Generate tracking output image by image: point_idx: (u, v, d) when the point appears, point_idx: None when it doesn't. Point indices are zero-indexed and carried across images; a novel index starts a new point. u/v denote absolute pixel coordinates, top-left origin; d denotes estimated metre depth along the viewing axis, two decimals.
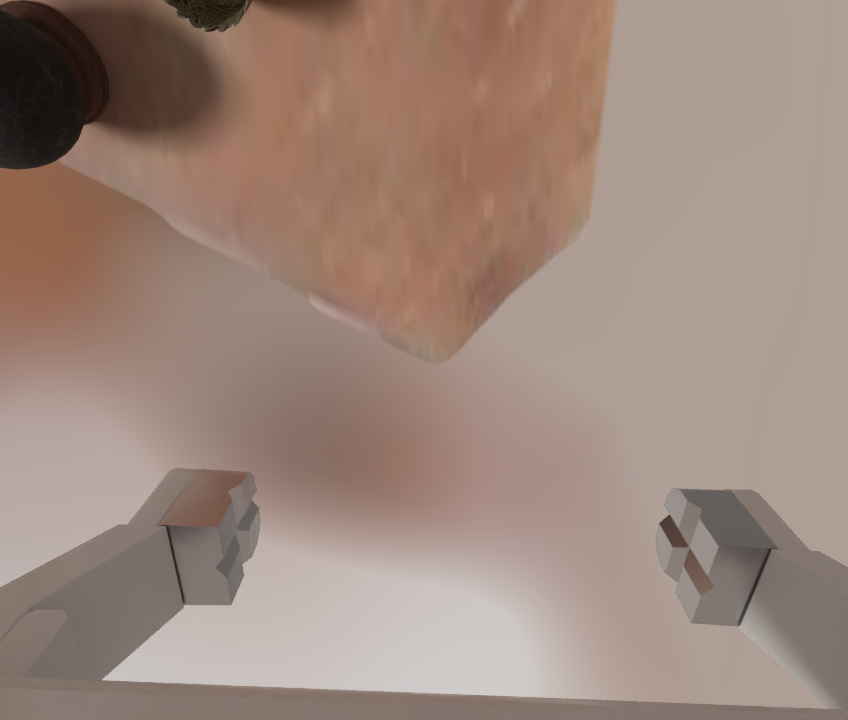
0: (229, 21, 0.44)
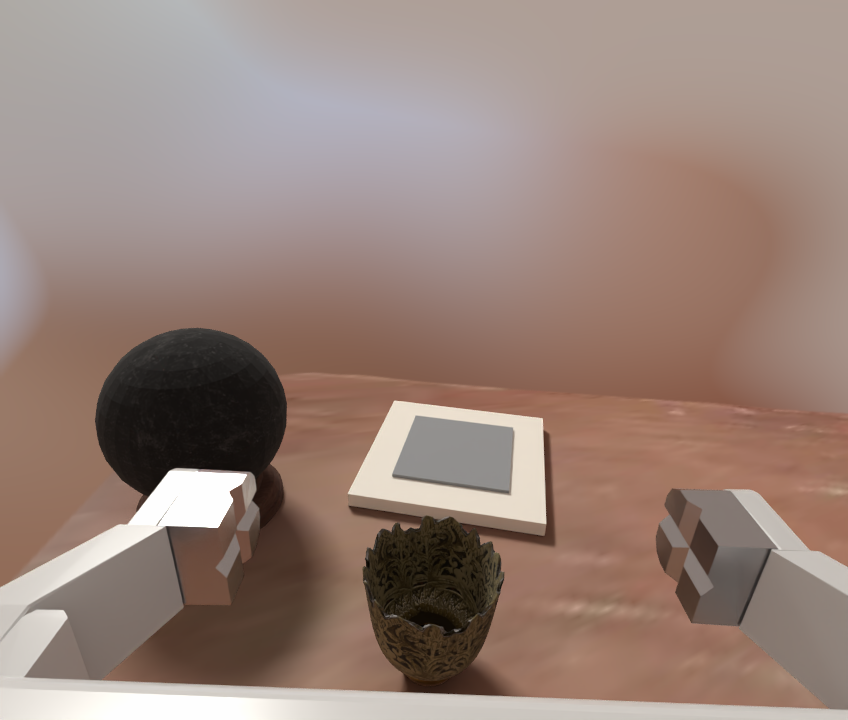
0: None
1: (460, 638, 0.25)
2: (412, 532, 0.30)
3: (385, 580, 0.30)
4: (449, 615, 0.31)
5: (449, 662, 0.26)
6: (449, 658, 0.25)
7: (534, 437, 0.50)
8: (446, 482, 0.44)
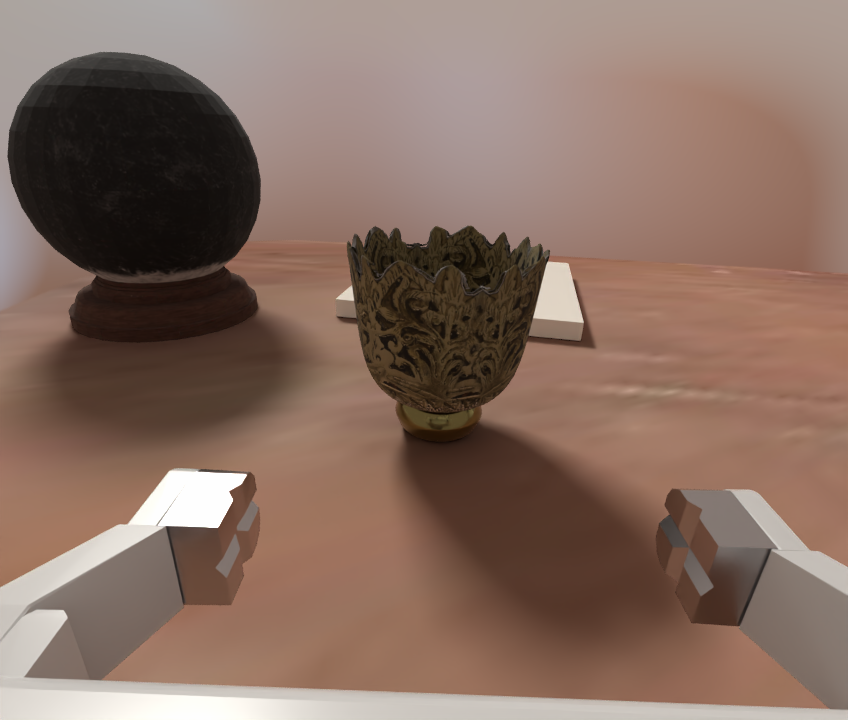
0: None
1: (489, 307, 0.17)
2: (417, 248, 0.22)
3: None
4: None
5: (471, 357, 0.17)
6: (471, 349, 0.17)
7: (560, 273, 0.42)
8: None
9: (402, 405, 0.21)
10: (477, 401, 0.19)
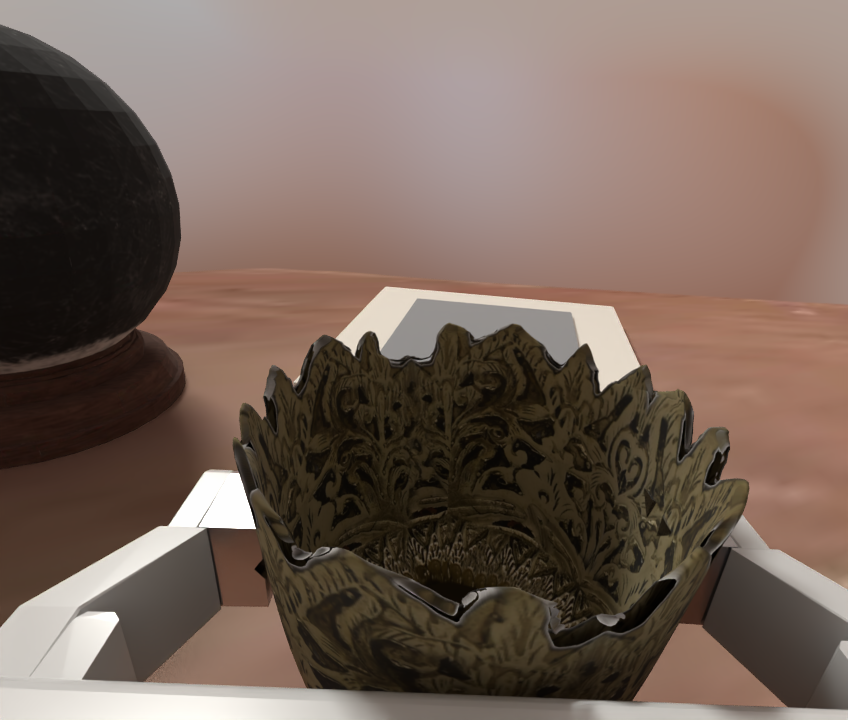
0: None
1: (615, 656, 0.06)
2: (411, 366, 0.11)
3: (336, 490, 0.11)
4: None
5: None
6: None
7: (607, 325, 0.32)
8: None
9: None
10: None
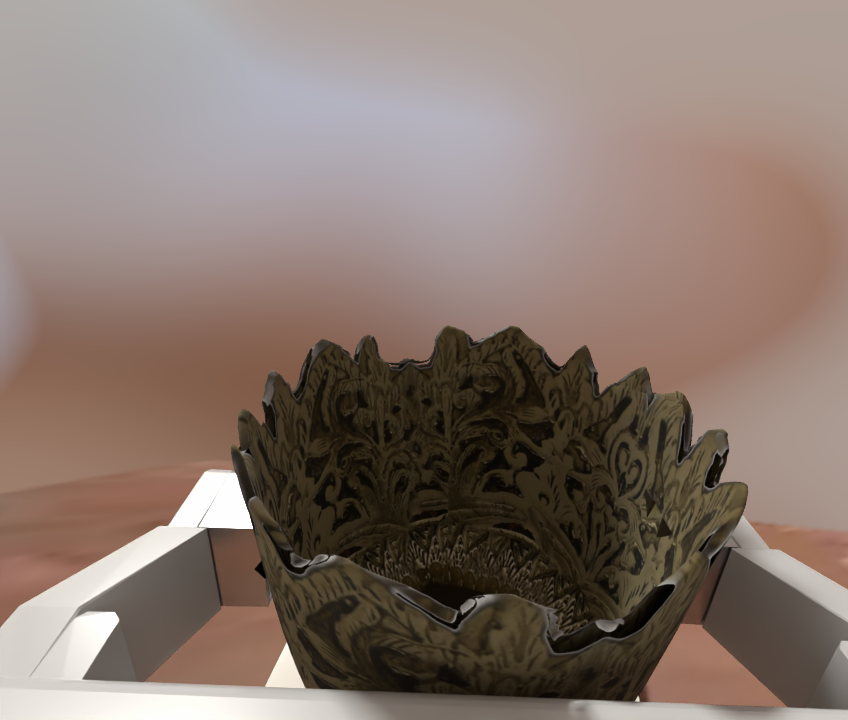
0: None
1: (615, 661, 0.06)
2: (410, 369, 0.11)
3: (336, 494, 0.11)
4: (506, 593, 0.12)
5: None
6: None
7: None
8: None
9: None
10: None
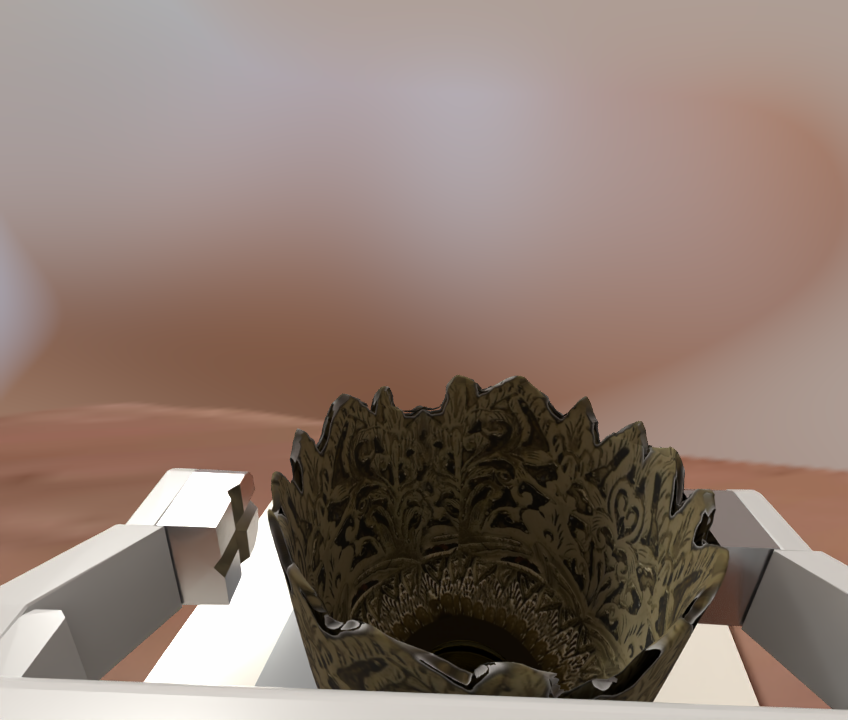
0: None
1: None
2: (423, 416, 0.12)
3: (355, 533, 0.12)
4: (513, 623, 0.13)
5: None
6: None
7: (711, 661, 0.15)
8: None
9: None
10: None
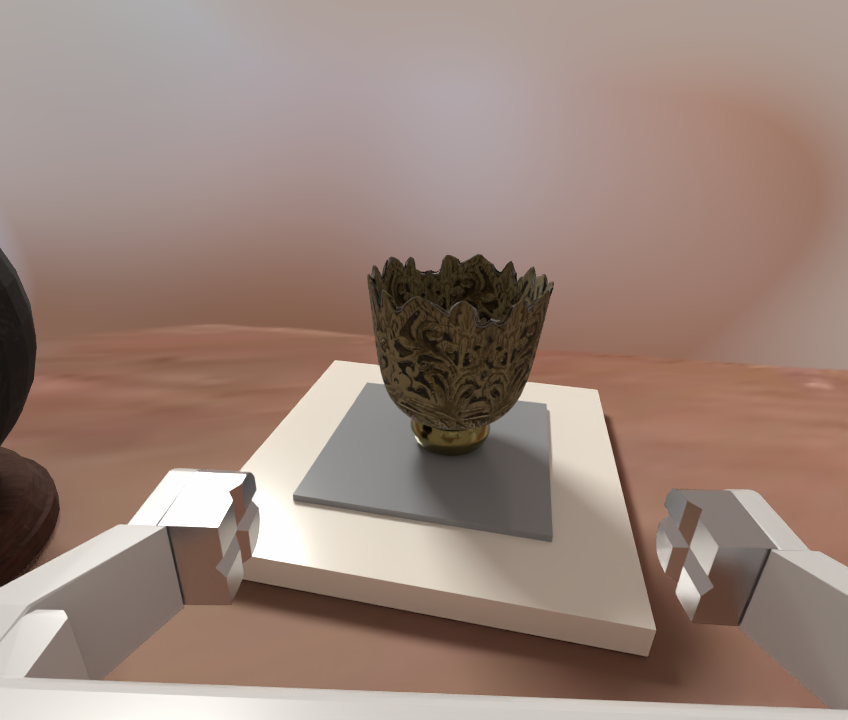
0: None
1: (498, 337, 0.18)
2: (430, 275, 0.24)
3: None
4: None
5: (482, 382, 0.19)
6: (482, 374, 0.19)
7: (588, 422, 0.26)
8: (410, 514, 0.19)
9: (417, 422, 0.23)
10: (487, 420, 0.21)
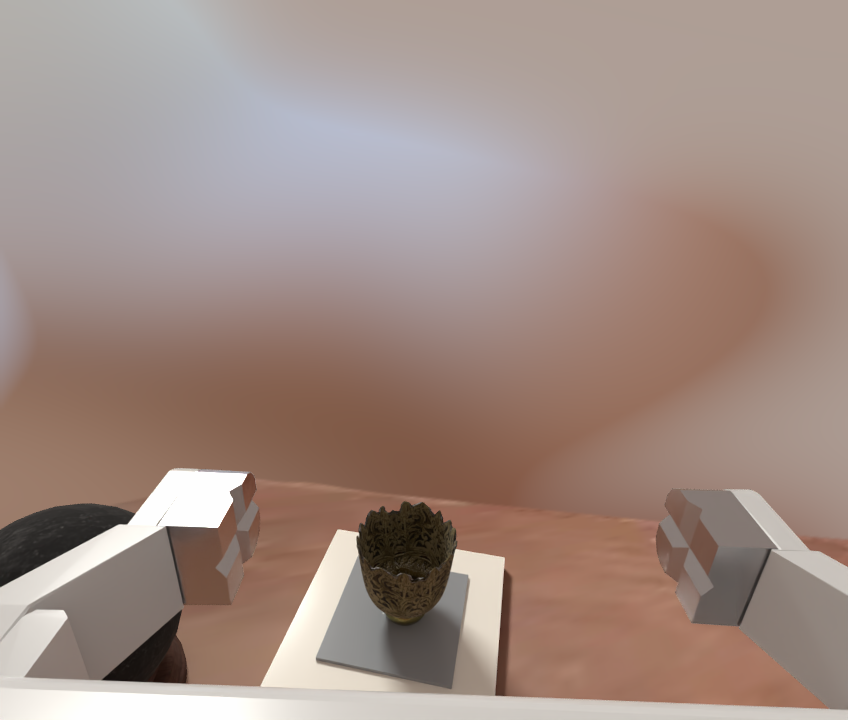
0: None
1: (423, 584, 0.35)
2: (394, 513, 0.41)
3: (373, 548, 0.41)
4: (421, 576, 0.42)
5: (416, 602, 0.36)
6: (416, 599, 0.36)
7: (492, 590, 0.43)
8: (378, 671, 0.37)
9: None
10: (421, 614, 0.38)
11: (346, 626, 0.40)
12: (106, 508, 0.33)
